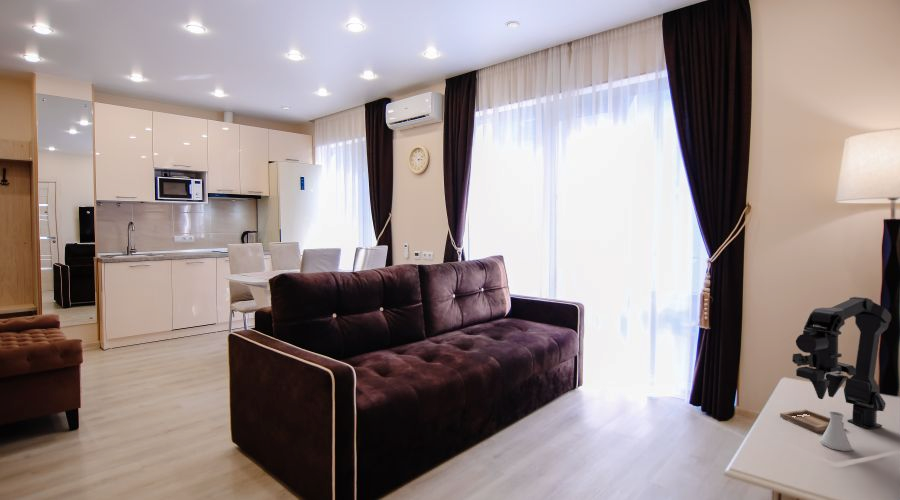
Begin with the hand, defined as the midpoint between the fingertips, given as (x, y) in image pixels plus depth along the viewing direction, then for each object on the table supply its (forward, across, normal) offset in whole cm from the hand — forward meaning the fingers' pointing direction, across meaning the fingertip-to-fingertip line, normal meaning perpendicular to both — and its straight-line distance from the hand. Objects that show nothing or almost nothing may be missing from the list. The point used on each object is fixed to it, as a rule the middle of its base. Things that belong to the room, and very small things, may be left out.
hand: (825, 397), depth 142 cm
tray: (+12, -5, -8) cm, 15 cm away
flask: (+12, +5, +6) cm, 15 cm away
